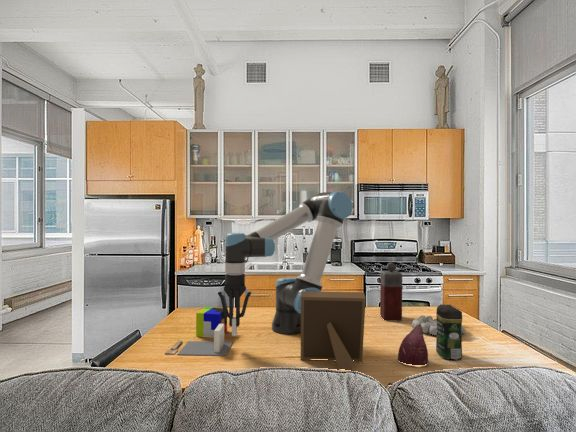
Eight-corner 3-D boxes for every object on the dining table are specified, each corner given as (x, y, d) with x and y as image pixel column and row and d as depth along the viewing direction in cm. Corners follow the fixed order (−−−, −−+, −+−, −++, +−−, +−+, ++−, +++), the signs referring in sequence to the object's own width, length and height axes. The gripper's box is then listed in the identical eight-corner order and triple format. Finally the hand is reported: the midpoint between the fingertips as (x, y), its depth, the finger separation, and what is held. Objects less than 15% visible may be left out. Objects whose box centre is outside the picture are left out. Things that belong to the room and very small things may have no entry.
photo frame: (300, 355, 136) (301, 287, 136) (360, 357, 135) (361, 289, 135) (300, 373, 121) (301, 297, 121) (367, 375, 120) (368, 298, 120)
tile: (224, 343, 147) (224, 323, 147) (219, 352, 138) (219, 330, 138) (218, 343, 147) (218, 323, 147) (213, 352, 138) (213, 330, 138)
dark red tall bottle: (396, 314, 193) (397, 261, 193) (402, 321, 182) (402, 264, 181) (379, 314, 193) (379, 260, 193) (383, 320, 182) (384, 263, 182)
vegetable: (420, 365, 136) (428, 324, 138) (431, 373, 126) (440, 329, 128) (392, 358, 136) (401, 317, 138) (401, 365, 126) (411, 321, 128)
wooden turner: (184, 343, 149) (184, 340, 149) (174, 355, 136) (174, 352, 136) (175, 342, 149) (175, 340, 149) (164, 354, 136) (164, 352, 136)
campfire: (422, 339, 155) (423, 325, 155) (405, 325, 176) (405, 312, 176) (474, 340, 156) (475, 326, 156) (450, 326, 177) (451, 313, 177)
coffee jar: (433, 351, 142) (433, 302, 142) (453, 351, 142) (454, 303, 142) (442, 361, 132) (443, 309, 132) (465, 361, 132) (465, 309, 132)
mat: (232, 342, 149) (232, 341, 149) (226, 355, 135) (226, 355, 135) (188, 341, 150) (188, 341, 150) (177, 355, 136) (177, 354, 136)
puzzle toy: (218, 338, 155) (218, 314, 155) (196, 336, 157) (196, 312, 157) (227, 330, 164) (227, 308, 164) (205, 329, 166) (206, 307, 166)
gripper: (253, 272, 146) (252, 332, 146) (220, 271, 146) (219, 331, 146) (250, 275, 138) (250, 338, 138) (216, 274, 138) (215, 337, 139)
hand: (234, 334), depth 142 cm, fingers closed
